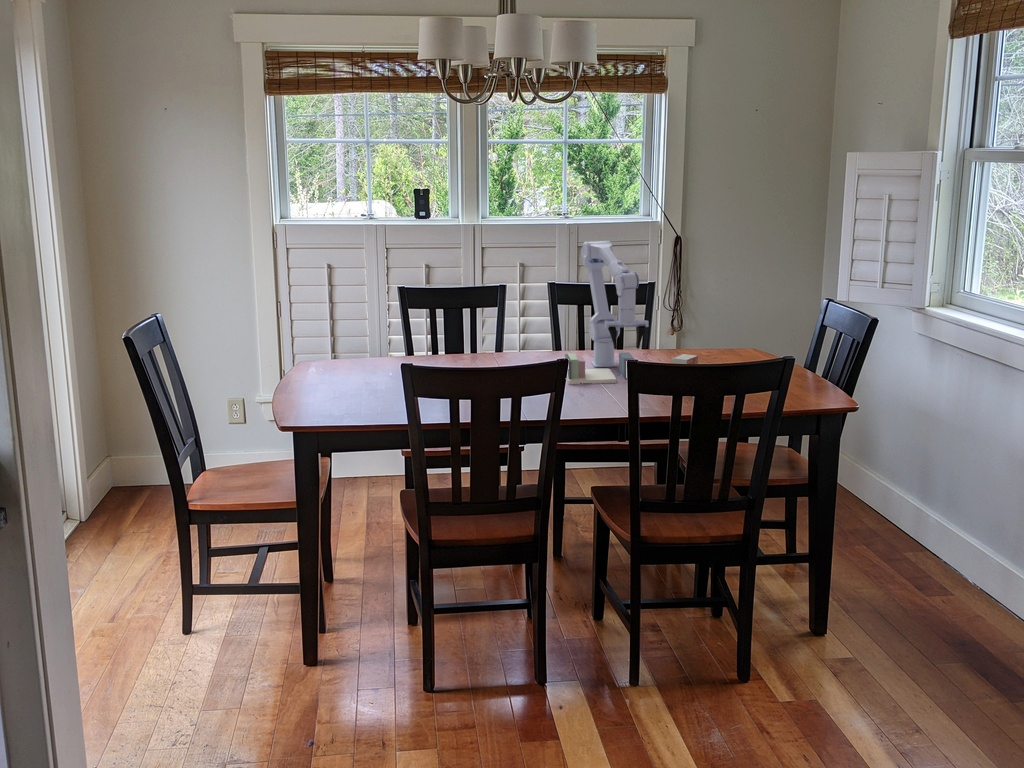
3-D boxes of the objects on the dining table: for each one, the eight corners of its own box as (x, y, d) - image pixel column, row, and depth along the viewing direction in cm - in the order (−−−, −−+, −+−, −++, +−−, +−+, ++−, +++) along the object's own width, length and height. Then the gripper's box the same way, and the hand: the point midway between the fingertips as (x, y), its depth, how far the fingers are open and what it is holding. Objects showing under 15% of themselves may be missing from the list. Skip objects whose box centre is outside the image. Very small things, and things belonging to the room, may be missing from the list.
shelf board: (563, 373, 340) (563, 369, 340) (609, 371, 341) (609, 368, 340) (568, 384, 324) (568, 380, 324) (616, 382, 325) (616, 379, 325)
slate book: (618, 372, 340) (618, 352, 338) (628, 372, 340) (629, 352, 338) (623, 379, 330) (623, 358, 329) (634, 378, 330) (634, 358, 329)
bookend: (564, 371, 338) (564, 354, 336) (567, 371, 338) (567, 354, 336) (568, 379, 326) (568, 361, 325) (571, 379, 326) (571, 361, 325)
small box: (686, 392, 311) (686, 359, 308) (670, 390, 314) (670, 357, 312) (697, 387, 317) (698, 355, 315) (682, 385, 320) (682, 353, 318)
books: (567, 371, 337) (567, 353, 335) (581, 371, 337) (581, 353, 335) (571, 378, 327) (570, 359, 326) (585, 378, 327) (585, 359, 326)
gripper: (607, 311, 325) (607, 351, 329) (650, 309, 326) (650, 350, 329) (603, 307, 332) (603, 347, 336) (646, 306, 333) (645, 345, 336)
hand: (626, 348), depth 333 cm, fingers open, 7 cm apart
